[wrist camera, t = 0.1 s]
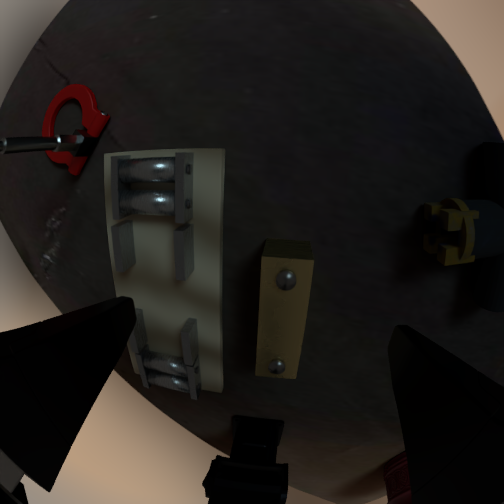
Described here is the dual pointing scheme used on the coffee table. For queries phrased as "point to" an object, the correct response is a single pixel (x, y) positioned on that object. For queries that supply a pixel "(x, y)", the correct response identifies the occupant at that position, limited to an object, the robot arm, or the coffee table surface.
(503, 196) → the pipe connector
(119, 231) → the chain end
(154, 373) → the chain end
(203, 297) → the board
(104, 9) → the coffee table surface
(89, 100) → the gray post stand
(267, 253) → the tapered knobbed panel
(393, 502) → the canister
